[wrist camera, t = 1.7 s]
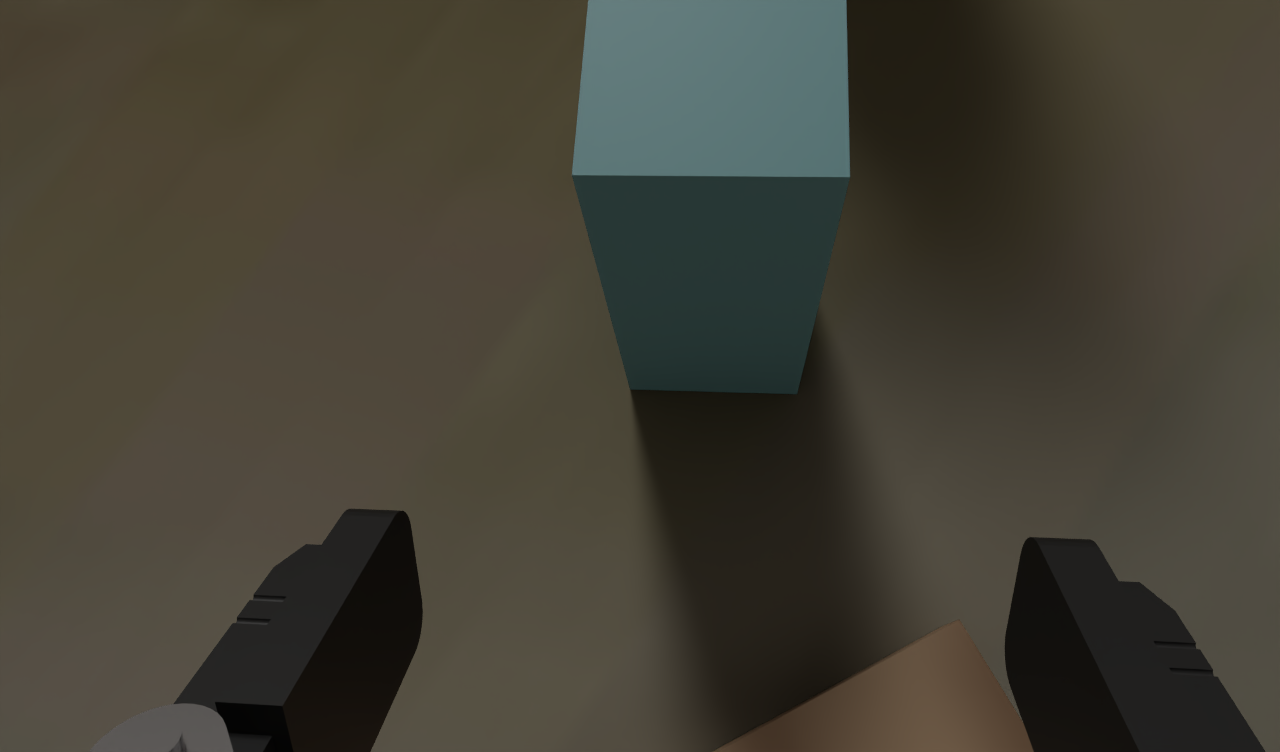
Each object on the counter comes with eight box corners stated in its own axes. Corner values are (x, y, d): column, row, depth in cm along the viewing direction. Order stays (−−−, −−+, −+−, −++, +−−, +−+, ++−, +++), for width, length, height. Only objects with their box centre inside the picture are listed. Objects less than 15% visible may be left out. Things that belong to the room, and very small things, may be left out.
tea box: (797, 244, 30) (845, -45, 18) (797, 394, 28) (849, 176, 17) (637, 242, 30) (589, -42, 19) (628, 389, 28) (568, 175, 17)
